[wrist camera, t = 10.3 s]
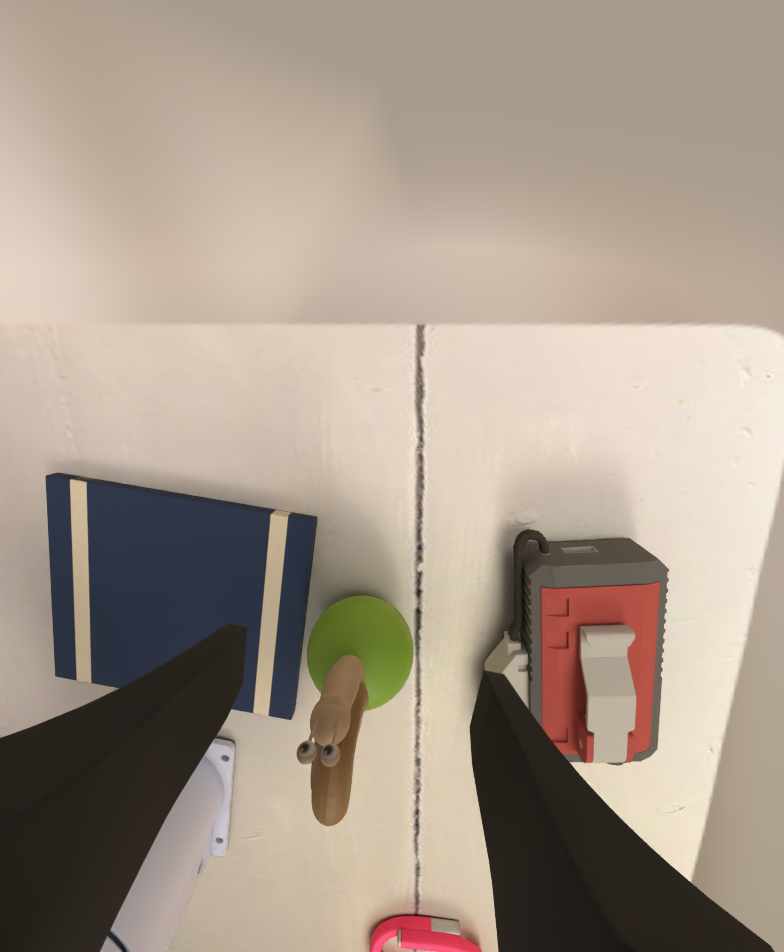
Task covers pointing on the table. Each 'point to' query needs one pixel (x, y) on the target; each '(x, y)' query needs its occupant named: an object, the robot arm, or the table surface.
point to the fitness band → (422, 935)
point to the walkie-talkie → (588, 645)
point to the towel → (175, 584)
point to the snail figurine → (349, 690)
